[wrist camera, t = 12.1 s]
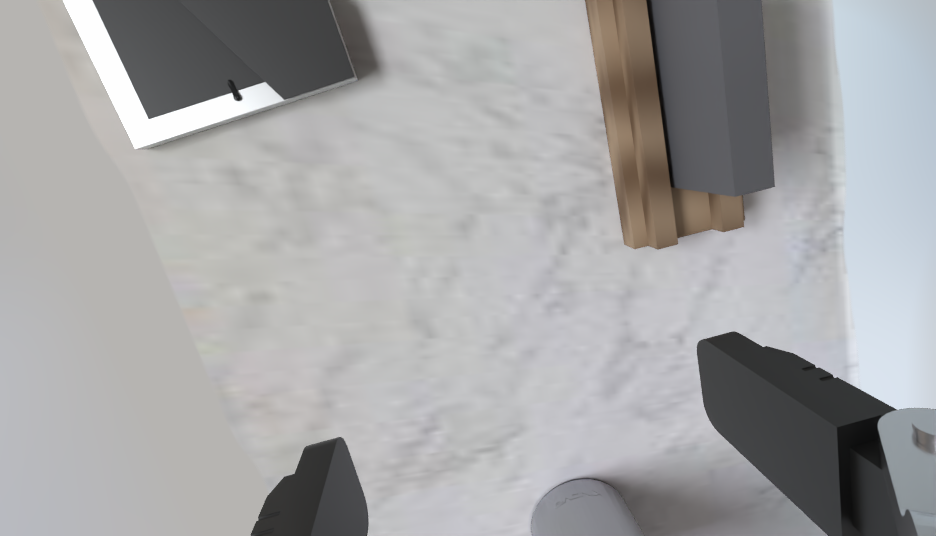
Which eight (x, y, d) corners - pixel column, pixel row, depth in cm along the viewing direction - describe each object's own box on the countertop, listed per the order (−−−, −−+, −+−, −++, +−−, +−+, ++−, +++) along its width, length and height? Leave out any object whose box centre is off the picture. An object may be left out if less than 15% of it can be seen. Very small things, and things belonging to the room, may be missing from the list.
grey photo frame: (699, 178, 37) (774, 186, 29) (668, 186, 37) (735, 196, 29) (677, -23, 33) (756, -75, 26) (642, -15, 33) (710, -65, 25)
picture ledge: (728, 216, 40) (757, 223, 37) (624, 244, 40) (643, 253, 36) (698, -84, 34) (729, -110, 31) (576, -55, 34) (593, -78, 31)
